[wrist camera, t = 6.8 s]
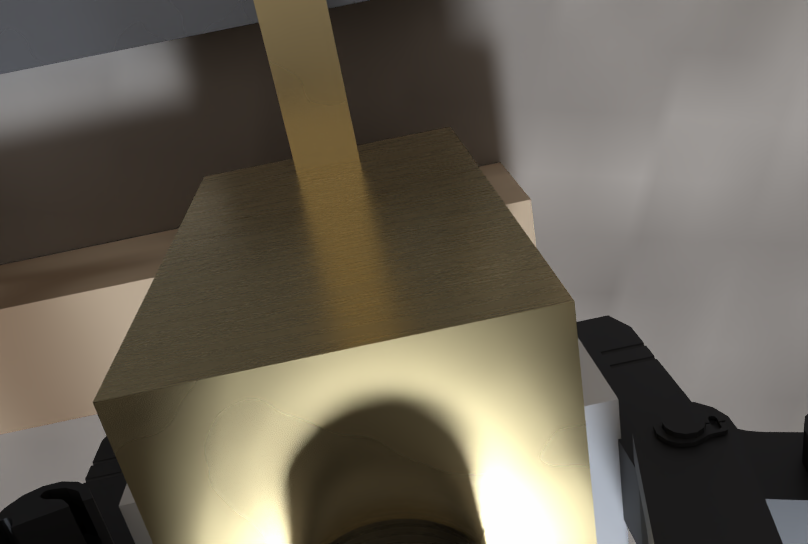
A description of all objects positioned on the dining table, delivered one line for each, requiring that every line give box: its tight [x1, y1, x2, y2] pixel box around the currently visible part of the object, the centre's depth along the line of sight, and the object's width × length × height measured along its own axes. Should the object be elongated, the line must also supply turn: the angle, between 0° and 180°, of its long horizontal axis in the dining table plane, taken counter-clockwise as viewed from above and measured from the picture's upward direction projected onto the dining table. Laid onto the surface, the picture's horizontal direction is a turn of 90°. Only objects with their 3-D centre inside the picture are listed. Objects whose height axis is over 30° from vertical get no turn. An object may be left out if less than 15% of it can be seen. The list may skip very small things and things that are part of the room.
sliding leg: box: [93, 0, 597, 544], centre depth 11 cm, size 5×15×11 cm, turn 10°
